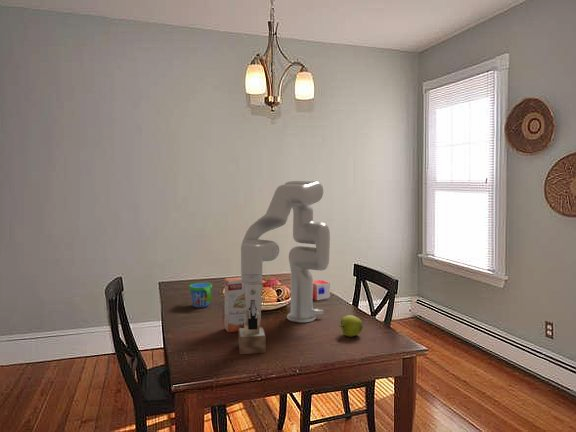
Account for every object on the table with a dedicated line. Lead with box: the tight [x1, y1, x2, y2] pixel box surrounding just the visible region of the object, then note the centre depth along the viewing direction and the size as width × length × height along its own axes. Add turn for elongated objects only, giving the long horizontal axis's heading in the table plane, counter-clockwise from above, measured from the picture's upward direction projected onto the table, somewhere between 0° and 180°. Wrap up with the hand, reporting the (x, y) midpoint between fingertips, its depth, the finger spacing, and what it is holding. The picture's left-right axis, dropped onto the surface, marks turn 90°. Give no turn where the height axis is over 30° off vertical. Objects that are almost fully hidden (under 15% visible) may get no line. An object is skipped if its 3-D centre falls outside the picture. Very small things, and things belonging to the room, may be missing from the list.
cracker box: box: [224, 276, 262, 333], centre depth 185 cm, size 14×6×21 cm, turn 113°
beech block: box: [244, 311, 259, 334], centre depth 164 cm, size 5×5×7 cm
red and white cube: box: [313, 279, 331, 301], centre depth 234 cm, size 8×8×8 cm
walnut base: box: [238, 326, 267, 355], centre depth 164 cm, size 9×9×6 cm
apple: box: [339, 314, 364, 337], centre depth 178 cm, size 8×9×8 cm
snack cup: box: [188, 282, 213, 309], centre depth 217 cm, size 16×10×10 cm
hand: (251, 324), depth 164 cm, fingers open, 9 cm apart
